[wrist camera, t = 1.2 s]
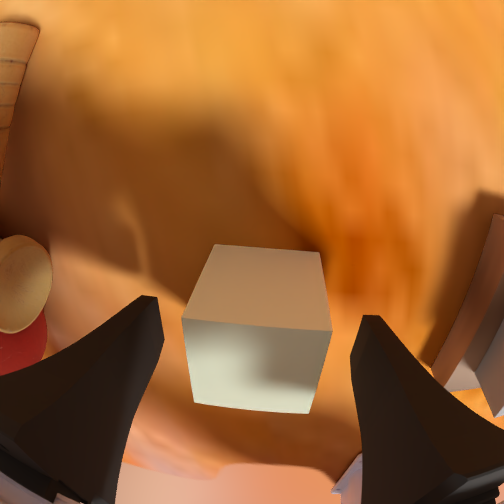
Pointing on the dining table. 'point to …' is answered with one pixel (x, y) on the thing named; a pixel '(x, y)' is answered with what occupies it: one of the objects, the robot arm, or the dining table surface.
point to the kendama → (19, 246)
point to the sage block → (257, 329)
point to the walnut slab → (475, 317)
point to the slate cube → (493, 373)
